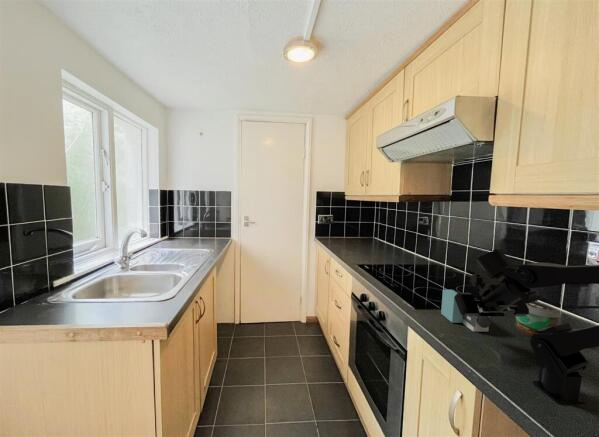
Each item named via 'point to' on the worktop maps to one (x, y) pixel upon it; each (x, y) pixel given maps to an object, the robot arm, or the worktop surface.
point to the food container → (536, 319)
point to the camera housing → (477, 323)
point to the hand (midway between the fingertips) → (475, 314)
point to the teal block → (450, 307)
